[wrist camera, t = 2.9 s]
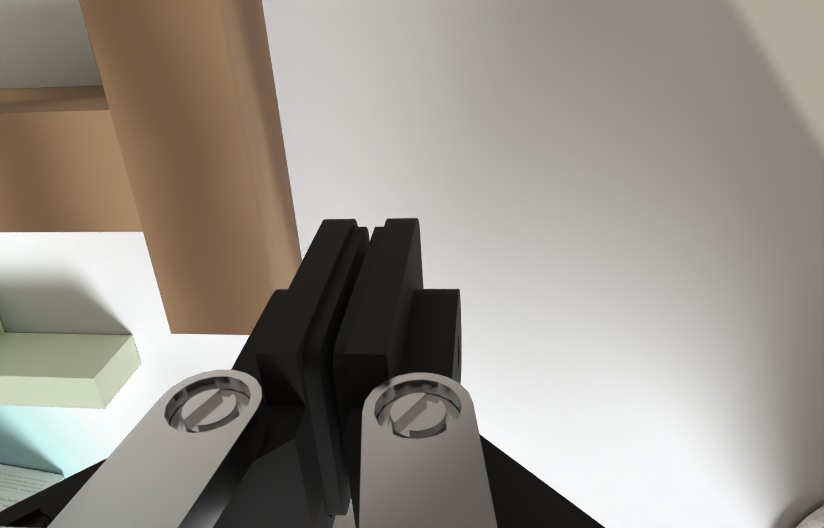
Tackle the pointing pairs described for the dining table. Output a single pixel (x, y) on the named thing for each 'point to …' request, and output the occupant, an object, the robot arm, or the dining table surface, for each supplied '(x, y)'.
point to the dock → (64, 368)
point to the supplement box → (23, 484)
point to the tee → (165, 155)
